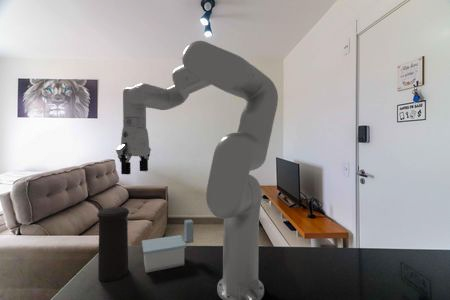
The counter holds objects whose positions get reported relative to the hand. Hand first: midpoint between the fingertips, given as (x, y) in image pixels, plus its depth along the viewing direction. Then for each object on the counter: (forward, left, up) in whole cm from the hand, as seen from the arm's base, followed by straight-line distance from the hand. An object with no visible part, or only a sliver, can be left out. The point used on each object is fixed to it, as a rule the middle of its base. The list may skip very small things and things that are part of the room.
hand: (135, 172), depth 83 cm
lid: (-9, -10, -25) cm, 28 cm away
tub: (-9, -8, -30) cm, 32 cm away
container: (-10, +7, -30) cm, 32 cm away
